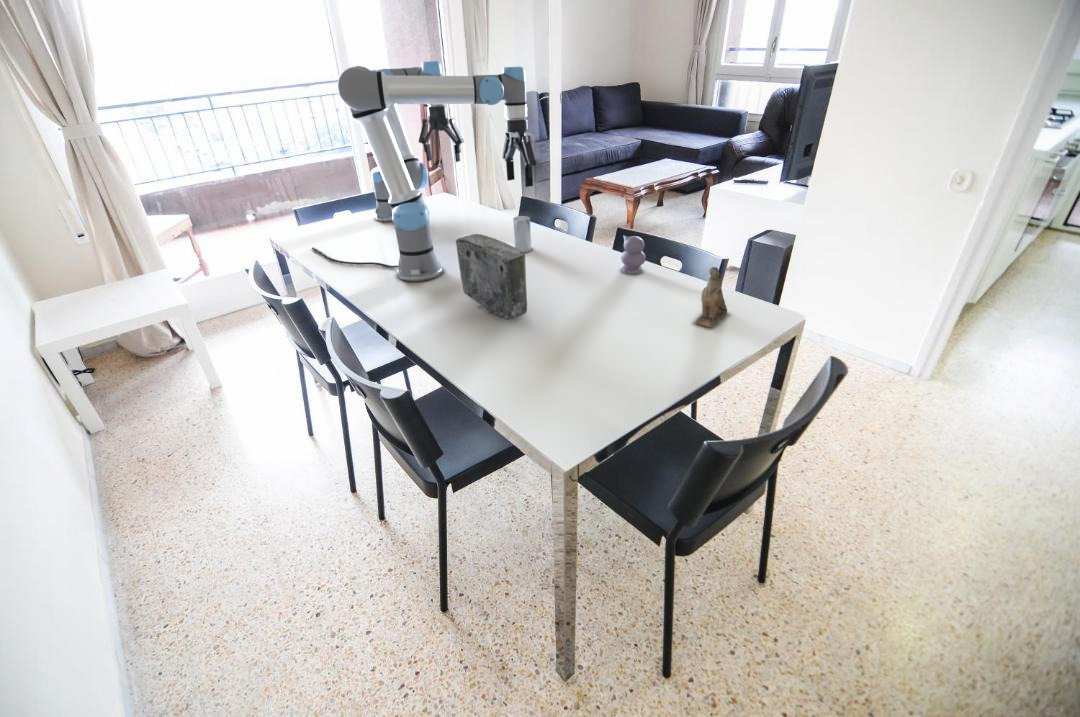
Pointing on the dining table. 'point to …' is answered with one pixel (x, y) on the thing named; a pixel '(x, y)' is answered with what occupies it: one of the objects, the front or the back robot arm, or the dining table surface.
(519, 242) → the canister
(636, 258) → the cat figurine
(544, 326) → the dining table surface
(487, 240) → the concrete block
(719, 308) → the brown carved statuette
